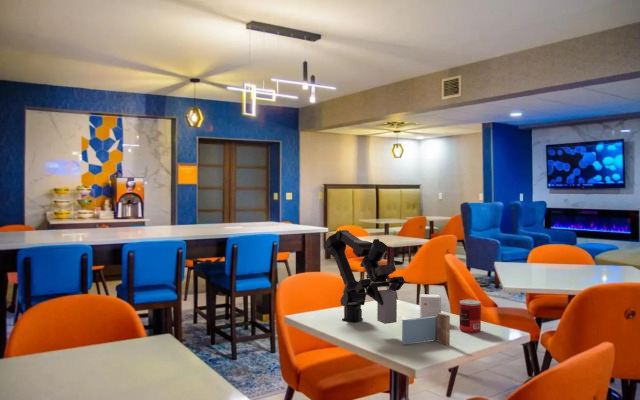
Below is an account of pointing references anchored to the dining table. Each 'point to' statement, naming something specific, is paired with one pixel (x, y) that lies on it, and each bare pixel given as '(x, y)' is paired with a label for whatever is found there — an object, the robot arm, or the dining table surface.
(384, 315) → the block
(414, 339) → the gate
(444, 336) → the brown wooden block
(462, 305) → the canned food
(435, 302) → the small box
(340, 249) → the robot arm
